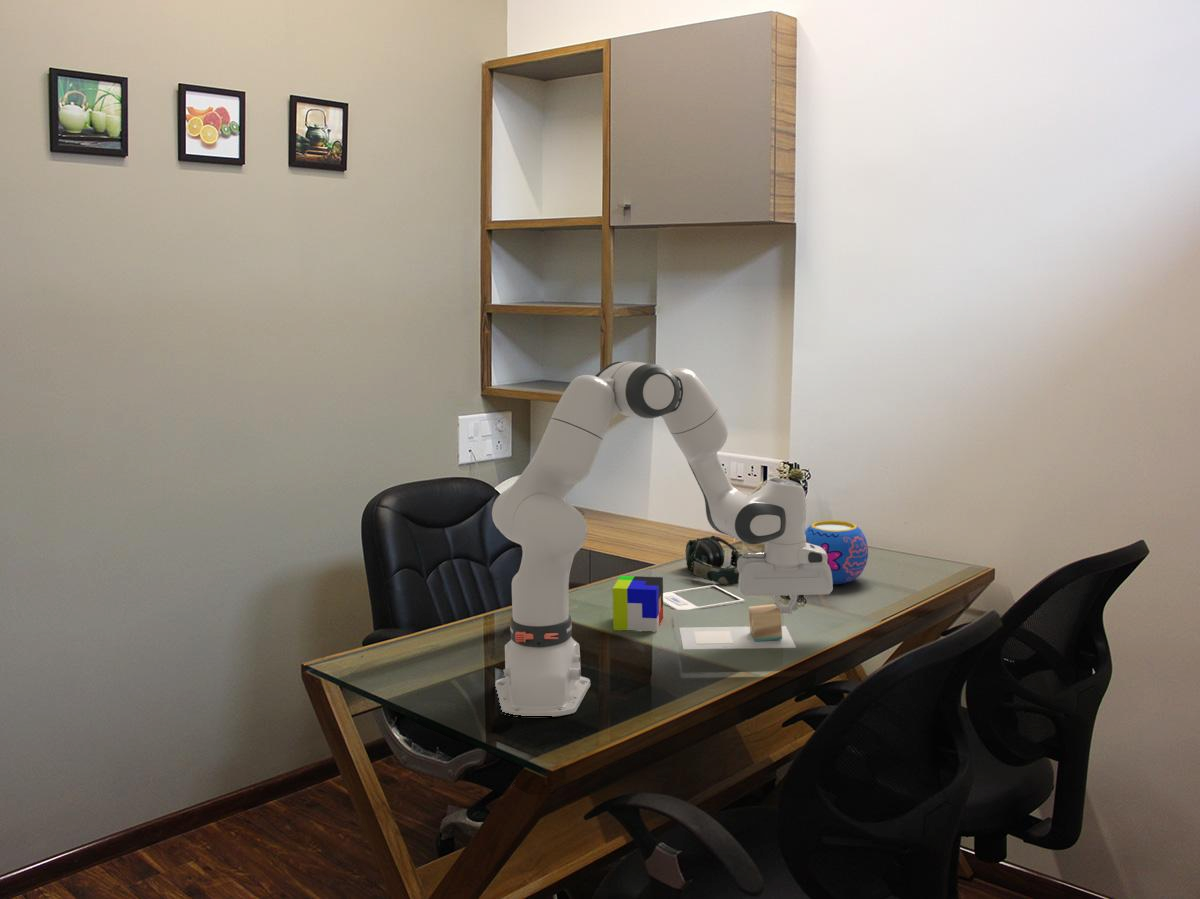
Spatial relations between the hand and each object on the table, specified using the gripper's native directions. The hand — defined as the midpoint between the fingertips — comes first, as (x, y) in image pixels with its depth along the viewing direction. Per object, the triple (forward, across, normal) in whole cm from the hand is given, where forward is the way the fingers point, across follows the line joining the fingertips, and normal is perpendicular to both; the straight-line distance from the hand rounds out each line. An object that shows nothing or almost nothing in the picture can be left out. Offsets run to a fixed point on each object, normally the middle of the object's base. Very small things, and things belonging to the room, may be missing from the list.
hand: (784, 613), depth 240 cm
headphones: (+7, -11, +52) cm, 54 cm away
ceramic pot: (+7, +19, +44) cm, 49 cm away
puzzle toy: (+6, -32, +13) cm, 35 cm away
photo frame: (+7, -17, +31) cm, 36 cm away
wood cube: (+5, -4, 0) cm, 6 cm away
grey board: (+6, -11, 0) cm, 12 cm away
